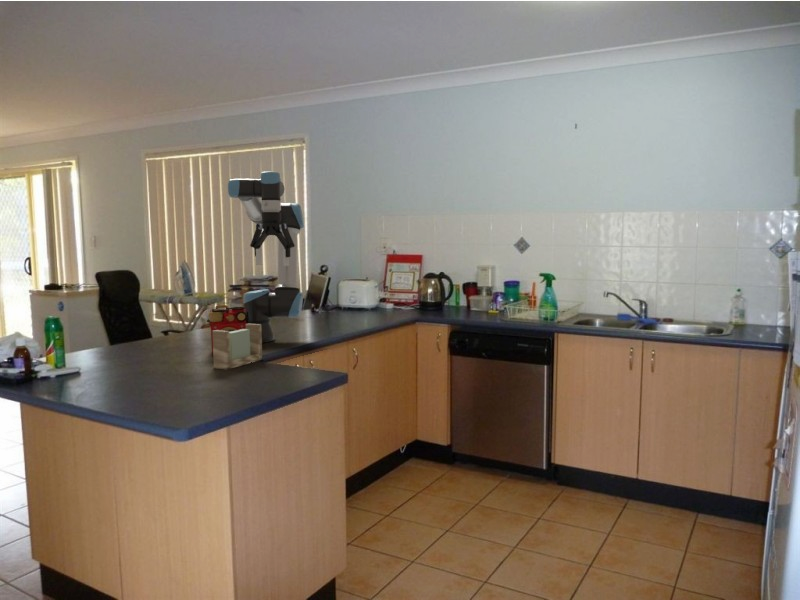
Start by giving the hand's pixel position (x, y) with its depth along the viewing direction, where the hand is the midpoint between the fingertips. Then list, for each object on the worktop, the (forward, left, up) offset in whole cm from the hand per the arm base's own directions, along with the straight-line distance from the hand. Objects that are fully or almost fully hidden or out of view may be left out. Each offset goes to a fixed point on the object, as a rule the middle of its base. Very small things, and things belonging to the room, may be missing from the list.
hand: (272, 265), depth 250 cm
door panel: (+18, -3, -36) cm, 40 cm away
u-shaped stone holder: (+18, -3, -37) cm, 41 cm away
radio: (+4, -20, -37) cm, 42 cm away
